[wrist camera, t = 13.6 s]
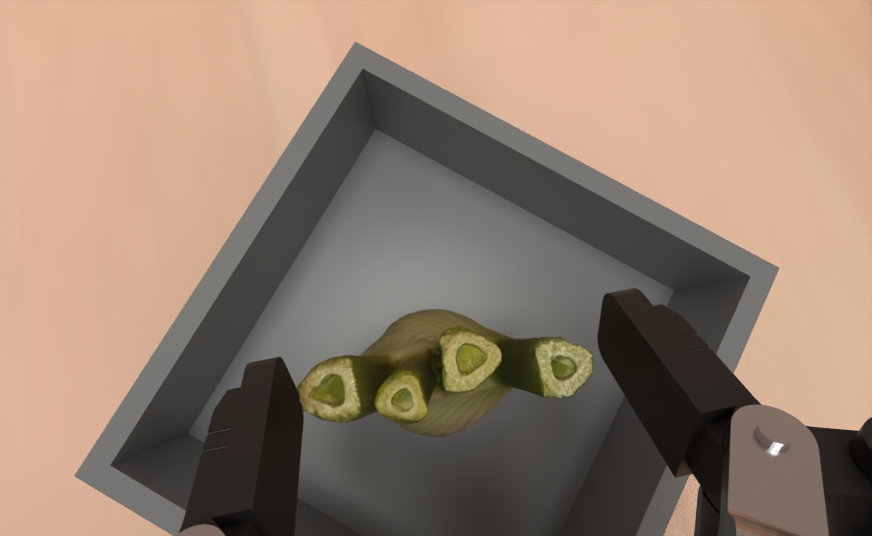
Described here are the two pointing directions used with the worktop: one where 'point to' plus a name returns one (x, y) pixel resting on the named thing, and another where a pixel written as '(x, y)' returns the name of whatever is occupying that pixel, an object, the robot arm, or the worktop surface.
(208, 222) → the worktop surface
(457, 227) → the bin
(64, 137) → the worktop surface
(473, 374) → the fennel bulb
